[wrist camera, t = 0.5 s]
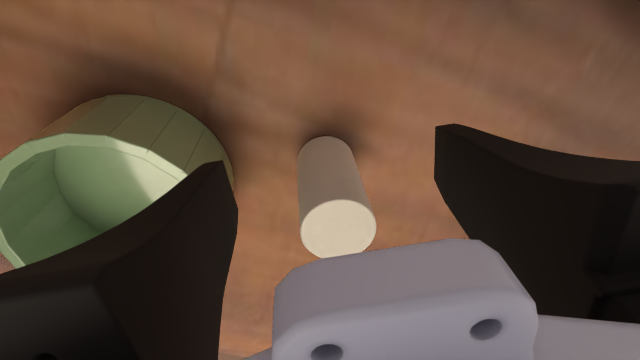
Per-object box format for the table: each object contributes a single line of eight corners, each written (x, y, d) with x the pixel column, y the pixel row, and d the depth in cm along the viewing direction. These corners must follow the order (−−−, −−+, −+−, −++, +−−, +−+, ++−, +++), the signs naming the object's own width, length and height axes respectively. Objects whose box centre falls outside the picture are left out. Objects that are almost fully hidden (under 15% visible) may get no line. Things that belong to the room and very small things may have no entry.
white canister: (362, 169, 24) (389, 239, 18) (315, 195, 24) (324, 271, 18) (336, 125, 22) (354, 185, 16) (285, 154, 23) (285, 223, 17)
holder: (267, 199, 24) (263, 257, 20) (142, 268, 26) (111, 335, 22) (149, 55, 19) (105, 85, 14) (6, 155, 21) (-73, 210, 17)
